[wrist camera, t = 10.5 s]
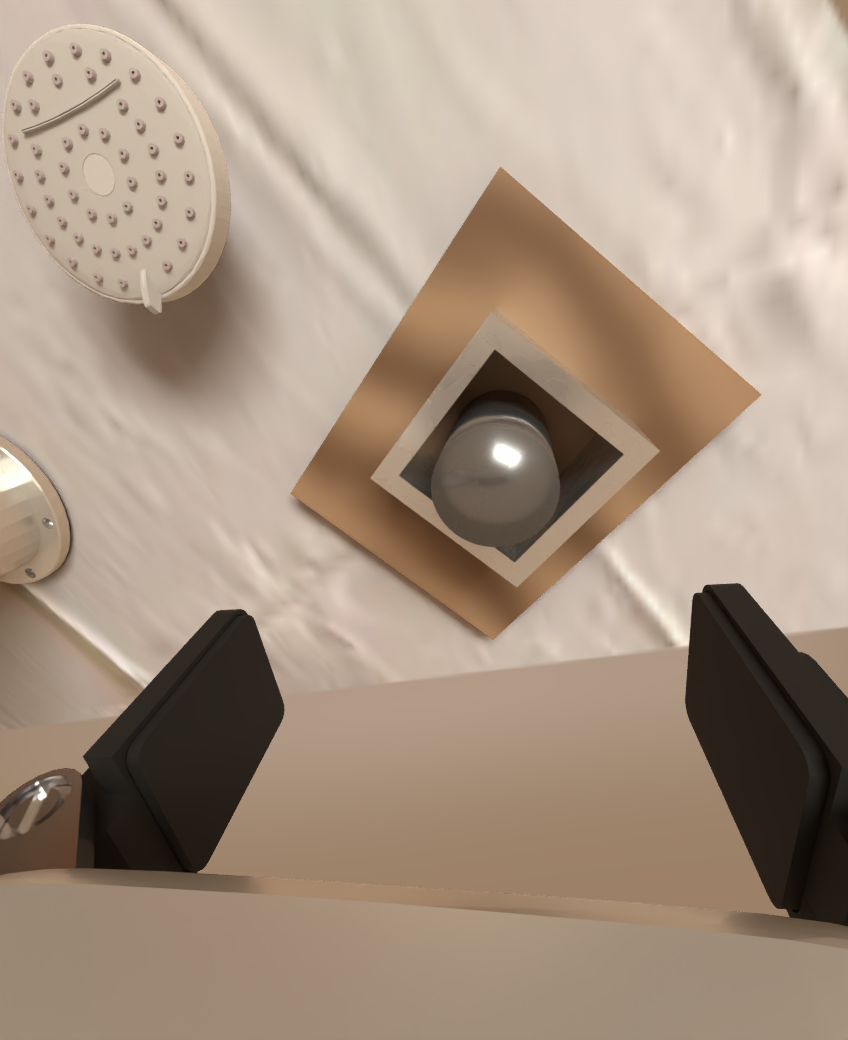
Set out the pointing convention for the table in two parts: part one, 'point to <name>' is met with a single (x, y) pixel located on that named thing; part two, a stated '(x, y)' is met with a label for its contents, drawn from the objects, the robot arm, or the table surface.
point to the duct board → (535, 374)
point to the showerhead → (115, 166)
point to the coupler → (497, 472)
